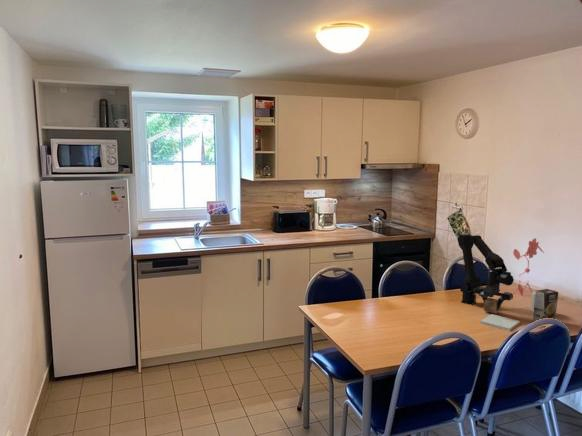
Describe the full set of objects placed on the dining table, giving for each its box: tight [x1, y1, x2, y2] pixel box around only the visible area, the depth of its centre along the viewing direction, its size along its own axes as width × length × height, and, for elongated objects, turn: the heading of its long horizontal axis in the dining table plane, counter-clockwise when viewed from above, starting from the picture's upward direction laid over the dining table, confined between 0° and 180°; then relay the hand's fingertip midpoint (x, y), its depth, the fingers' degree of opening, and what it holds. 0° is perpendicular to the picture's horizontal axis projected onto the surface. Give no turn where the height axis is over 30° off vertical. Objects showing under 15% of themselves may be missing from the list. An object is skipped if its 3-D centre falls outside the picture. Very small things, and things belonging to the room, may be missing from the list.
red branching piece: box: [512, 237, 545, 296], centre depth 270 cm, size 15×26×35 cm, turn 124°
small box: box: [530, 291, 536, 313], centre depth 241 cm, size 8×6×10 cm
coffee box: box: [532, 288, 559, 322], centre depth 228 cm, size 9×6×16 cm
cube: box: [483, 297, 501, 315], centre depth 241 cm, size 6×6×6 cm
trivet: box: [480, 313, 521, 332], centre depth 226 cm, size 14×14×1 cm
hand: (491, 308), depth 241 cm, fingers closed on cube, 6 cm apart
